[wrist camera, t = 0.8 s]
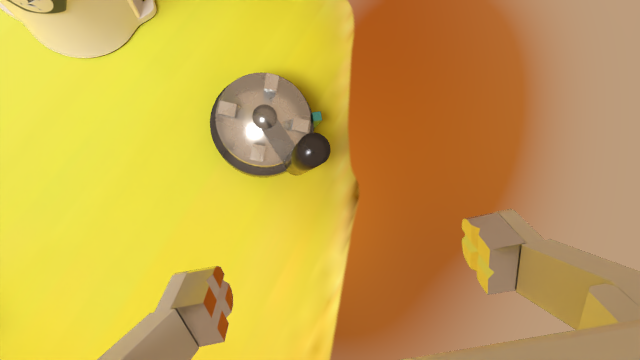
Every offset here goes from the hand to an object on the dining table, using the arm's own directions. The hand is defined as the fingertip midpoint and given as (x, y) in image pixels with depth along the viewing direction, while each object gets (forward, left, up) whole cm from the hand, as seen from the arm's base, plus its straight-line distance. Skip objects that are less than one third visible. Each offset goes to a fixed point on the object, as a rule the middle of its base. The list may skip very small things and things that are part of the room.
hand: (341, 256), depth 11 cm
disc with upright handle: (-11, 0, -34) cm, 36 cm away
